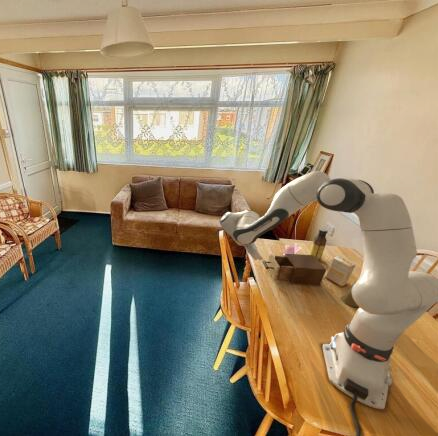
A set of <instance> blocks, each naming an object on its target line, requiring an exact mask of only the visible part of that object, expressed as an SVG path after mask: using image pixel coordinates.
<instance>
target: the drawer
mask: <svg viewBox="0 0 438 436" xmlns="http://www.w3.org/2000/svg"><path fill="white" fill-rule="evenodd" d="M261 263H262V264H263V266H264V268H265V270H268V272H269V274H270V277H271V278H272V280H273V281H277V280H284V281H288V280H290V279H291V276H292V273H293V270H294V266H293V265H292V264H291V262H290V261H289V259H288V258H287V257H286V256H285V255H273V254H269V257H268V260H267V261H266V260H261Z"/></svg>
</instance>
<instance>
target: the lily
mask: <svg viewBox="0 0 438 436" xmlns="http://www.w3.org/2000/svg"><path fill="white" fill-rule="evenodd" d="M284 246H285V251H284V252H283V253H282V255H281V256H285V253H286V254H297V252H298V251H300V250H301V249H302V248H303V246H297V242H295V243H294V244H293V245H292V246H291V245H290V244H289V245H288V244H285V245H284Z"/></svg>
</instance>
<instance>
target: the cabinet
mask: <svg viewBox="0 0 438 436" xmlns="http://www.w3.org/2000/svg"><path fill="white" fill-rule="evenodd" d="M284 253H285V252H284ZM284 256H286V257H287V258H288V259H289V261H290V262H291V264H292V265H293V266H294V270H293V273H292V276H291V279H290V280H287V281H288V283H289V284H291V285H303V286H315V287H316V286H317V287H320V286H321V284H322V282H323V280H324V276H325V275H326V273H327V272H326V271H327V268H325V266H324V265H323V264H322V263H321V262H320V260H317V259H316V258H315V257H314V255H309V254H300V253H296V254H286V253H285V255H284Z"/></svg>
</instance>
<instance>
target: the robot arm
mask: <svg viewBox="0 0 438 436" xmlns="http://www.w3.org/2000/svg"><path fill="white" fill-rule="evenodd" d="M315 202H318V204H319V205H320V206H321V207H323V208H324V209H326V210H328V211H332V212H340V213H347V214H352V213H354V214H355V215H356V216H357V218H358V221H359V227H360V232H361V233H360V234H361V239H362V246H363V262H362V267H361V271H360V275H359V277H358V279H357V280H356V281H355V282H356V283H355V284H354V286H353V287H352V291H351V293H352V297H353V299H354V301H355V303H356V304H357V305H358V309H357V310H356V312H355V314H354V316H353V317H352V319H351V321H350V322H348V323H347V324H346V325H345V327H344V330H343V331H341V332H338V333H336V334H335V335H334V336H331V341H330V343H323V344H322V351H323V352H322V353H323V357H324V362H325V367H326V371H327V376H328V380H329V383H331V384H332V385H333V386H334V387H336V388H337V389H338V390H339V391H341V392H342V393H344V394H345V395H346V396H348V397H350V398H352V401H350V412H351V415H352V419H353V422H354V425H355V431H356V434H355V436H362V435H361V433H362V432H361V427H360V424H359V421H358V418H357V415H356V411H355V405H356V404H357V402H359V403H361V404H363V405H366V406H368V407H370V408H373V409H377V410H385V407H386V404H387V398H388V392H389V386H390V387H391V385H393V381H394V380H393V378H391V375H390V373H389V372H392V370H393V366H390V362H391V359H392V354H393V351H394V347H395V344H396V343H397V342H398V340H399V339H400V337H401V336H402V335H403V333H405V331H406V330H407V329H408V328H409V327H411V326H412V325H413V324H415V323H416V322H417V321H418V320H419V319H420V318H421V317H423V316H424V314H426V312H427V311H428V310H430V309H431V308H432V307H433V306H434V305H437V303H438V278H436V277H435V276H434V275H431V274H430V273H427V272H423V271H415V270H411V266H412V263H413V261H414V260H415V259H416V257H417V255H418V251H417V245H416V238H415V233H414V229H413V223H412V218H411V216H410V213H409V210H408V208H407V206H406V203H405V201H404V199H403V198H402V197H401V196H400V195H398V194H395V193H392V192H378V193H375V191H374V188H373V186H372V185H371V184H370V183H368V182H366V181H365V180H361V179H355V178H352V177H343V178H342V177H341V178H331V177H330V176H329V175H328V174H327V173H326V172H323V171H321V170H313V171H311V172H308V173H306V174H303V175H301V176H299V177H297V178H295V179H294V180H291V181H290V182H288V183H287V184H286V185H284V186H283V187H281V188H280V189H279V190H278V191H276V193H275V195H274V197H273V200H272V202H271V203H270V206H269V208H268V210H267V211H266V212H265V214H264V215H262V216H261V215H259V214H258V212H256V211H255V210H251V209H246V210H243V211H240V212H231V211H227V212H225V213H224V214H223V215H222V216H221V217H220V220H219V224H220V225H219V226H220V227H221V228H222V229H223V231H225V233H226V234H227V235H228V236H230V237H231V239H232V240H233V241H234V242H235V243H236V244H237V245H238V246H242V247H244V248H245V250H246V252H247V253H248V254H249V255H250V256H251V258H252V259H253V260H254V261H257V260H258V261H261V262H262V261H264V260H263V259H264V258H263V256H262V255H261V253H260V251H259V249H258V247H257V245H256V244H255V242H256V241H257V240H258V239H259V238H260V237H262V235H265V234H266V233H268V232H269V231H271V230H273V229H274V228H276V227H278V226H279V225H280V224H282V223H283V222H285V221H286V220H287V219H288V218H290V217H291V216H292V215H294V214H295V213H296V212H299V211H300V210H301V209H303V208H305V207H307V206H309V205H310V204H313V203H315ZM388 371H389V372H388Z"/></svg>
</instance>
